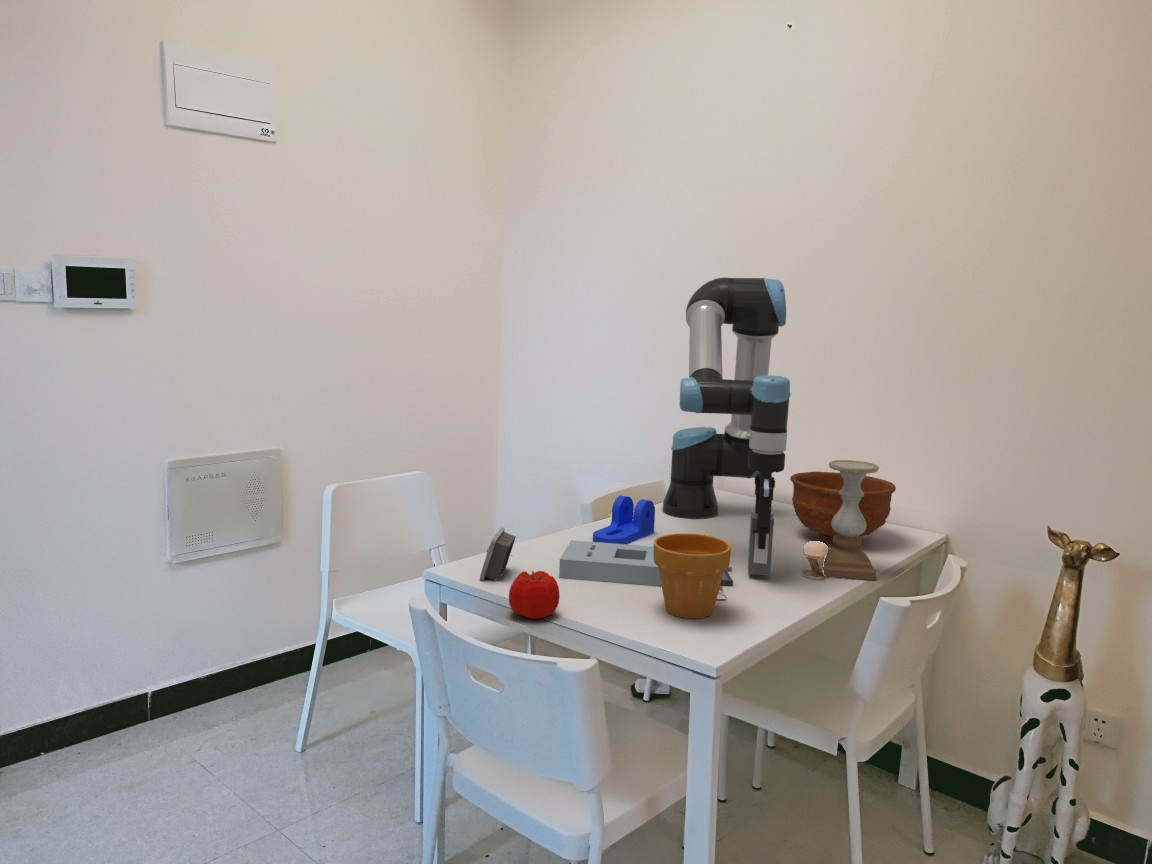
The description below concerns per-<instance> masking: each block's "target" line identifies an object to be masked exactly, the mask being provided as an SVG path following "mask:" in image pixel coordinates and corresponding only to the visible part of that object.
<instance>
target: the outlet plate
mask: <svg viewBox="0 0 1152 864" xmlns="http://www.w3.org/2000/svg"><path fill="white" fill-rule="evenodd" d="M558 577H559V579H571V580H572V579H573V580H581V581H582V580H583V581H584V580H585V581H596V582H606V583H607V582H609V583H616V584H617V583H618V584H619V583H621V584H630V585H631V584H632V585H644V586H653V587H654V586H656V587H662V585H661V579H660V573H659V568H658V566H657V565H656V564H655V563H654V545H652V546H649V545H639V544H638V545H637V544H614V543H601V542H593V541H585V540H573V539H571V540H570V542H569V543H568V545H567V547H566V548H565V549H564V552H562V554H561V556H560V558H559V573H558Z"/></svg>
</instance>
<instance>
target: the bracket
mask: <svg viewBox="0 0 1152 864" xmlns="http://www.w3.org/2000/svg"><path fill="white" fill-rule="evenodd" d="M655 521H656V507H655V504H654V502H653V501H652V500H649V499H648V500H647V499H639V500H638V502H637V503H636V505H635V507H634V501H633V498H632V497H630V496H626V495H623V494H622V495H621V494H620V495H618V496H616V498H615V499H614V502H613V504H612V509H611V520H610V524H609V525H608V526H605V527H603V528H600V529H598V530H595V531H593V533H592V542H601V543H614V544H627V545H630V544H632V543H633V542H636V541H638V540H640V539H643V538H645V537H648V536H651V535H653V534H654V533H655Z"/></svg>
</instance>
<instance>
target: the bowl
mask: <svg viewBox="0 0 1152 864" xmlns="http://www.w3.org/2000/svg"><path fill="white" fill-rule="evenodd" d="M789 480H790V482H792V485H793V488H792V489H793V492H792V493H793V494H792V498H791V501H792V506H793V508H794V512H795V516H796V517H797V518H798V521H799V522H801V524H802V525H803V526H804V527H805V528H807V529H809V530H810V531H811V532H813V533H816V534H817V533H818V534H819V537H820V539H822V540H824V541H828V542H831V543H833V537H834V536H835V535H836V534H837V532H835V531H834V529H833V528H832V525H831V522H832V519H833V517H834V515H835V514H836V513H837V512H838V510H839V509H840V507H841V506H842V503H843V501H842V498H841V495H840V494H839V491H840V490H841V489H842V487H843V485H844V481H843V478H842V476H841V475H840V472H834V471H833V472H832V471H831V472H829V471H806V472H805V471H804V472H799V473H794V474H792V475H790V478H789ZM896 489H897V487H896V485H895V483H892V482H891V481H888V480H885V479H882V478H877V477H873V476H869V475H866V477H865V478H864V479H863V480H862V482H861V490H862V492H863V493H864V496H863V497H861V500H860V501H859V509H860V511H861V513H862V515H863V517H864V519H865V521H866V530H865V531H864V533H862V534H860V535H859V537H860V538H861V537H864V536H869V535H871V534H872V533H874V532H875V531H877V530H878V529H880V528H881V527H883V526H884V525H885V524H886V523H887V519H888V518H889V515H890V512H891V502H892V495H893V493H895V492H896Z"/></svg>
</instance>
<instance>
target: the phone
mask: <svg viewBox="0 0 1152 864" xmlns="http://www.w3.org/2000/svg"><path fill="white" fill-rule="evenodd" d="M720 585H721V586H722V587H733V586H734V581H733V579H732V577H731V576H730V574H729V571H727V570H725V571H724V573H723V576H722V580H721V584H720ZM721 586H720V587H721Z"/></svg>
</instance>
